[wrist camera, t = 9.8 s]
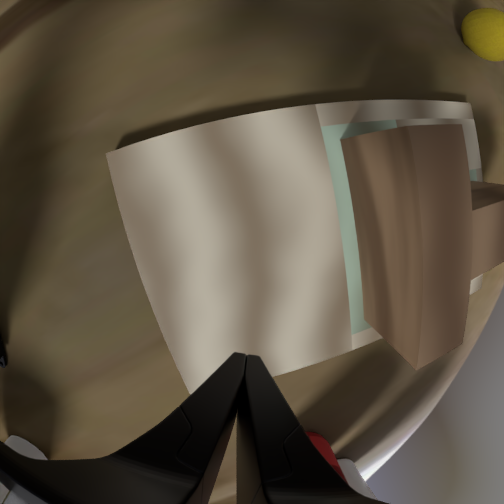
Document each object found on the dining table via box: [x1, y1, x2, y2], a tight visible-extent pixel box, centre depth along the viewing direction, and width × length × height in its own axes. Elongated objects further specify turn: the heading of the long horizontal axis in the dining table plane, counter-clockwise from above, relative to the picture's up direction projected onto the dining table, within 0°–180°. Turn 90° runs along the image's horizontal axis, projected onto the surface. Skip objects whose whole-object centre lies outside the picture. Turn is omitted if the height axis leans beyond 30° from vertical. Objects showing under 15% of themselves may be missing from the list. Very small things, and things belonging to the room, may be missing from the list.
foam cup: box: [0, 435, 48, 504], centre depth 15 cm, size 10×9×13 cm
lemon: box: [461, 8, 504, 61], centre depth 13 cm, size 6×6×8 cm
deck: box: [106, 100, 483, 395], centre depth 19 cm, size 29×18×1 cm, turn 102°
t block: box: [340, 124, 504, 370], centre depth 16 cm, size 13×13×7 cm
